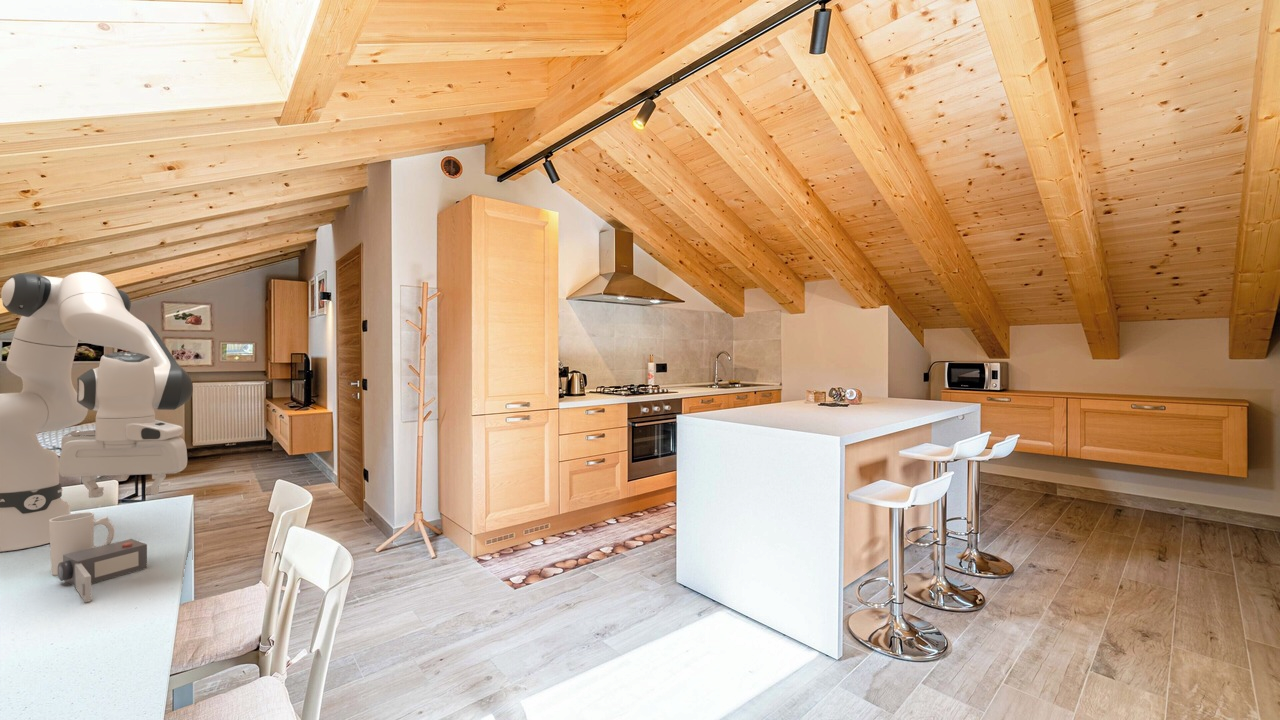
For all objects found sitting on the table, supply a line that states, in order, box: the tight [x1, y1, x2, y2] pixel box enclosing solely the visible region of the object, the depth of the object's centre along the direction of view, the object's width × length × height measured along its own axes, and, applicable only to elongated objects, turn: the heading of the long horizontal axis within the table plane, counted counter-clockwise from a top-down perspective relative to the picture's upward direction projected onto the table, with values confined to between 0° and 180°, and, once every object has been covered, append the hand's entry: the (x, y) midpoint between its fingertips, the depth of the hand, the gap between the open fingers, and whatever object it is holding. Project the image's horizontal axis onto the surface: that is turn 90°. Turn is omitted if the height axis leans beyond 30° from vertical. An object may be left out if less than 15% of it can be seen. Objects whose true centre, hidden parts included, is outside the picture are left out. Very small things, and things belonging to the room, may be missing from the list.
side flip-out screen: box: [74, 563, 92, 603], centre depth 103 cm, size 1×12×5 cm, turn 54°
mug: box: [49, 511, 116, 577], centre depth 117 cm, size 10×7×12 cm, turn 130°
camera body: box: [58, 538, 148, 587], centre depth 113 cm, size 8×12×6 cm, turn 153°
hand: (124, 495), depth 108 cm, fingers open, 8 cm apart
